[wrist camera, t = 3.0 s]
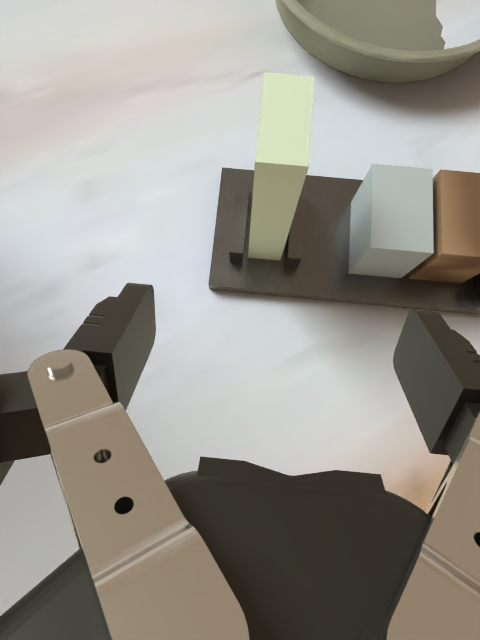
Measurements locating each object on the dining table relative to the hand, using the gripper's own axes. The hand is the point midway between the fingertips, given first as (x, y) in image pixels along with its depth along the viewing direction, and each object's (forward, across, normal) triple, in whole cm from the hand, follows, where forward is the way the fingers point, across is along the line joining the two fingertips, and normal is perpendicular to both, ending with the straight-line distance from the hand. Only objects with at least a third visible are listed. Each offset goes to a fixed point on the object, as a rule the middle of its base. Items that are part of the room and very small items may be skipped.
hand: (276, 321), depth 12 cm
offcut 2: (+19, -13, +4) cm, 23 cm away
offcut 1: (+19, -8, +4) cm, 21 cm away
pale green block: (+19, 0, +4) cm, 19 cm away
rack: (+20, -7, +4) cm, 21 cm away
